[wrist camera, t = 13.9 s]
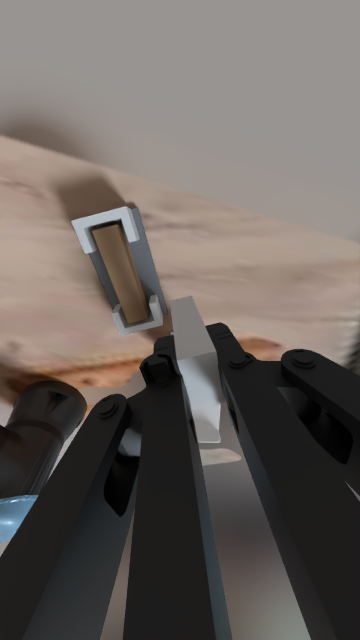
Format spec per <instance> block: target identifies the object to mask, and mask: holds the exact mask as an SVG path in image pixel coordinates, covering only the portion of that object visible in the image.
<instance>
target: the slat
mask: <svg viewBox="0 0 360 640" xmlns="http://www.w3.org/2000/svg"><path fill="white" fill-rule="evenodd" d="M92 233H93V235H94V238H95V240H96V243H97V245H98V248H99V251H100V253H101V256H102V258H103V261H104V263H105V266H106V268H107V271H108V273H109V276H110V278H111V281H112V284H113V286H114V289H115V291H116V294H117V296H118V299H119V301H120V304H121V306H122V309H123V312H124V314H125V317H126V319H127V322H128V324H129V323H133V322H137V321H141V320H145V319H148V314H149V305H148V302H147V299H146V296H145V293H144V290H143V287H142V284H141V281H140V278H139V275H138V272H137V268H136V265H135V262H134V259H133V256H132V253H131V250H130V247H129V244H128V241H127V238H126V235H125V232H124V228H123V225H113V226H109V227H105V228H101V229H97V230H93V231H92Z"/></svg>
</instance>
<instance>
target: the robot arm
mask: <svg viewBox="0 0 360 640" xmlns="http://www.w3.org/2000/svg"><path fill="white" fill-rule="evenodd" d="M170 307H171V316H172V324H173V333H174V335H170V336H166V337H162V338H158V339H157V341H156V342H155V344H154V352H153V354H152V355H150V356H149V357H147V358H146V359H145V360H144V361H143V362H142V363H141V365H140V367H139V368H140V371H141V373H142V375H143V378H144V380H145V382H146V388H145V389H144V390H142V391H141V392H139V393H137V394H136V395H134V396H132V397H130V398H128V399H126V397H124V396H123V395H122V394H113V395H109V396H107V397H105V398H103V399H102V400H100V401H99V402H98V403H97V404H96V405H95V406H94V407H93V409H92V410H91V411H90V413H89V415H88V416H87V418H86V420H85V421H84V423H83V424H82V426H81V428H80V429H79V431H78V432H77V434H76V436H75V437H74V439H73V441H72V442H71V444H70V445H69V447H68V449H67V450H66V452H65V453H64V455H63V457H62V458H61V460H60V462H59V463H58V465H57V466H56V468H55V470H54V471H53V473H52V474H51V471H52V469H53V467H54V465H55V462H56V460H57V458H58V456H59V453H60V451H61V449H62V447H63V444H64V442H65V441H66V440H67V439H68V437H69V436H70V435H71V434H72V433H73V431H74V430H75V428H77V427H78V426H79V424H80V423H81V422H82V420H83V418H84V416H85V413H86V410H87V403H86V401H85V398H84V397H83V396H82V394H81V393H80V392H79V391H77V390H76V389H75V388H73V387H71V386H69V385H67V384H64V383H60V382H54V381H42V382H37V383H34V384H31V385H30V386H28V387H27V388H25V389H24V390H23V392H22V393H21V394H20V395H19V396H18V398H17V399H16V401H15V404H14V408H13V411H12V413H11V415H10V418H9V420H8V423H7V425H6V426H5V428H4V427H3V426H1V425H0V543H2V542H4V541H7V540H9V539H11V538H12V539H11V541H10V542H9V544H8V545H7V547H6V549H5V550H4V552H3V554H2V555H1V557H0V640H100V636H101V633H102V629H103V625H104V621H105V618H106V614H107V610H108V606H109V603H110V598H111V595H112V591H113V587H114V584H115V580H116V576H117V572H118V568H119V565H120V561H121V557H122V553H123V549H124V546H125V542H126V538H127V534H128V530H129V527H130V523H131V519H132V515H133V511H134V508H135V513H134V523H133V534H132V546H131V557H130V567H129V578H128V588H127V600H126V611H125V621H124V632H123V640H232V635H231V629H230V624H229V618H228V612H227V607H226V601H225V595H224V589H223V583H222V578H221V572H220V566H219V561H218V555H217V549H216V543H215V537H214V532H213V526H212V520H211V515H210V509H209V503H208V497H207V492H206V486H205V480H204V474H203V469H202V463H201V457H200V451H199V446H198V440H197V434H196V428H195V423H194V419H193V416H192V411H191V410H194V409H198V408H202V407H206V406H210V405H214V404H219V403H223V402H225V399H226V402H227V405H228V411H229V416H230V422H231V425H233V426H234V429H235V431H236V434H237V437H238V439H239V442H240V445H241V448H242V450H243V453H244V456H245V459H246V462H247V464H248V467H249V470H250V472H251V475H252V478H253V481H254V483H255V486H256V489H257V491H258V495H259V497H260V500H261V503H262V506H263V508H264V511H265V514H266V517H267V519H268V522H269V525H270V528H271V531H272V533H273V536H274V539H275V541H276V544H277V547H278V550H279V552H280V555H281V558H282V561H283V564H284V566H285V569H286V572H287V575H288V577H289V580H290V583H291V586H292V588H293V591H294V594H295V597H296V599H297V602H298V605H299V608H300V610H301V613H302V616H303V618H304V621H305V624H306V627H307V629H308V632H309V635H310V638H311V640H360V501H359V500H358V499H357V497H356V496H355V495H354V493H353V492H352V490H351V489H350V488H349V486H348V485H347V483H348V484H349V485H350V487H351V488H353V489H354V491H355V492H356V493H357V494H358V495H359V496H360V376H359V375H357V374H355V373H353V372H352V371H350V370H348V369H346V368H344V367H342V366H340V365H339V364H337V363H335V362H333V361H331V360H329V359H328V358H326V357H324V356H322V355H320V354H318V353H316V352H313V351H310V350H305V349H293V350H290V351H287V352H285V353H284V354H283V355H282V357H281V361H261V360H257V359H256V358H255V357H254V356H253V355H252V354H250V353H247V352H245V351H244V350H243V349H242V347H241V346H240V344H239V343H238V341H237V340H236V338H235V337H234V336H233V334H232V332H231V331H230V329H229V328H228V326H227V325H225V324H223V323H221V322H220V323H216V324H212V325H208V326H205V325H204V323H203V321H202V318H201V316H200V314H199V312H198V310H197V307H196V305H195V303H194V301H193V298H192V296H188V297H184V298H180V299H176V300H172V301H170ZM50 474H51V476H50ZM49 476H50V478H49ZM48 478H49V479H48ZM47 480H48V481H47ZM344 480H345V481H346V482H347V483H346V482H345V481H344Z"/></svg>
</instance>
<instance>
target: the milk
mask: <svg viewBox="0 0 360 640" xmlns="http://www.w3.org/2000/svg"><path fill="white" fill-rule="evenodd" d="M170 335H174V333H173V332H170ZM191 411H192V416H193V419H194V423H195V428H196V434H197V440H198V442H211V443H213V442H214V443H219V442H221V438H220V434H219V417H220V403H219V404H214V405H210V406H206V407H202V408H198V409H194V410H191Z"/></svg>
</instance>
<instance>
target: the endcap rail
mask: <svg viewBox="0 0 360 640" xmlns="http://www.w3.org/2000/svg"><path fill="white" fill-rule="evenodd" d="M71 222H72V224H73V227H74V229H75V231H76V234H77V236H78V238H79V240H80V243H81V245H82V247H83V250H84V252H85V254H87V253H89V254H90V256H91V259H92V261H93V264H94V266H95V268H96V271H97V273H98V275H99V278H100V280H101V282H102V285H103V287H104V290H105V292H106V294H107V297H108V299H109V301H110V304H111V306H112V309H113V311H112V313H111V315H112V317H113V319H114V322H115V324H116V326H117V329H118V331H119V333H120V336H122V335H126V334H130V333H134V332H138V331H142V330H146V329H150V328H154V327H158V326H162V325H163V315H165V314H168V311H167V308H166V304H165V301H164V297H163V294H162V291H161V287H160V284H159V280H158V277H157V273H156V270H155V266H154V263H153V259H152V256H151V252H150V249H149V245H148V242H147V238H146V235H145V231H144V228H143V224H142V221H141V217H140V214H139V210H138V208H133V209H130V208H128V207H127V206H125V207H121V208H117V209H114V210H110V211H106V212H102V213H98V214H95V215H91V216H87V217H83V218H80V219H76V220H72V221H71ZM113 225H123V228H124V232H125V235H126V238H127V241H128V244H129V247H130V250H131V253H132V256H133V259H134V262H135V265H136V268H137V272H138V275H139V278H140V281H141V284H142V287H143V290H144V293H145V296H146V299H147V302H148V305H149V314H148V319H145V320H141V321H137V322H133V323H129V324H128V322H127V319H126V317H125V314H124V312H123V309H122V306H121V304H120V301H119V299H118V296H117V294H116V291H115V289H114V286H113V284H112V281H111V278H110V276H109V273H108V271H107V268H106V266H105V263H104V261H103V258H102V256H101V253H100V251H99V248H98V245H97V243H96V240H95V238H94V235H93V233H92V231H93V230H97V229H101V228H105V227H109V226H113Z"/></svg>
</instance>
